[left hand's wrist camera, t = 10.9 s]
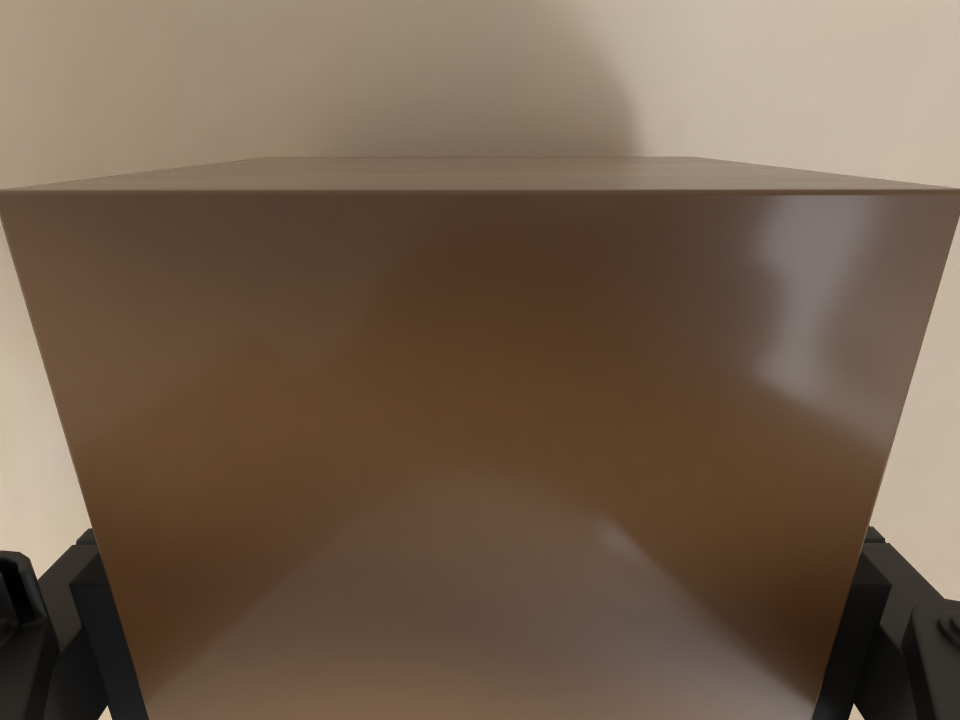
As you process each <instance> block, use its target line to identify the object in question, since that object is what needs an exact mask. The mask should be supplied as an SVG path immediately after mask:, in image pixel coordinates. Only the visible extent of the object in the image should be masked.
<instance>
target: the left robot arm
mask: <svg viewBox="0 0 960 720" xmlns="http://www.w3.org/2000/svg"><path fill="white" fill-rule="evenodd" d="M76 542H77V543H76V545H72V546H71V547H70V548H69V549H68V550H67V551H66V552H65V553H64V554H63V555H62V556H61V557H60V558H59V559H58V560H57V561H56V562H55V563H54V564H53V565H52V566H51V567H50V568H49V569H48V570H47V571H46V572H45V573H44V574H43V575H42V576H41V577H40V578H39V579H38V580H37V578H36V575H35V572H34V570H33V567H32V564H31V561H30V559H29V558H28V557H26V556H25V555H23V554H22V553H20V552H13V551H0V720H98V719H99V717H100V716H101V714H102V713H103V711H104V710H105V708H106V707H107V705H108V708H109V711H110V714H111V717H112V720H149V717H148V714H147V710H146V707H145V704H144V700H143V697H142V694H141V690H140V687H139V683H138V680H137V677H136V673H135V670H134V667H133V663H132V660H131V656H130V653H129V650H128V646H127V643H126V640H125V636H124V633H123V629H122V626H121V623H120V619H119V616H118V613H117V609H116V606H115V602H114V599H113V596H112V592H111V589H110V586H109V582H108V579H107V576H106V572H105V569H104V565H103V562H102V559H101V555H100V552H99V549H98V545H97V542H96V538H95V535H94V532H93V528H92V529H88V530H87V531H86V532H85V533H84V534H83V535H82V536H81V537H80V538H79V539H78V540H77V541H76ZM853 704H855V706H856V707H857V709H858V710H859V712H860V713H861V715H862V716H863V718H864V719H865V720H960V601H954V600H948V599H944V598H943V597H942V596H941V595H940V594H939V593H938V592H937V591H936V590H935V589H934V588H933V587H932V586H931V585H930V584H929V583H928V582H927V581H926V580H925V579H924V578H923V577H922V576H921V575H920V574H919V573H918V572H917V571H916V570H915V569H914V568H913V567H912V566H911V565H910V564H909V563H908V562H907V561H906V560H905V559H904V558H903V557H902V556H901V555H900V553H899V552H898V551H897V550H896V549H895V548H894V547H893V546H892V545H891V544H890V543H886V542H885V538H884V537H883V536H882V535H881V534H880V533H879V532H878V531H877V530H876V529H875V528H874V527H870V526H868V529H867V533H866V536H865V540H864V543H863V546H862V550H861V553H860V557H859V560H858V563H857V567H856V570H855V574H854V577H853V580H852V584H851V587H850V591H849V594H848V597H847V601H846V604H845V608H844V611H843V614H842V618H841V621H840V625H839V628H838V631H837V635H836V638H835V642H834V645H833V648H832V652H831V655H830V659H829V662H828V665H827V669H826V672H825V676H824V679H823V682H822V686H821V689H820V693H819V696H818V699H817V703H816V706H815V710H814V713H813V716H812V720H848V719H849V716H850V713H851V710H852V707H853Z"/></svg>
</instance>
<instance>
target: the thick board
mask: <svg viewBox="0 0 960 720" xmlns="http://www.w3.org/2000/svg"><path fill="white" fill-rule="evenodd" d="M959 216H960V189H958V188H950V187H942V186H933V185H925V184H916V183H908V182H899V181H891V180H883V179H874V178H866V177H857V176H849V175H841V174H832V173H824V172H815V171H807V170H799V169H790V168H782V167H773V166H765V165H757V164H748V163H740V162H731V161H723V160H715V159H706V158H698V157H266V158H258V159H250V160H242V161H234V162H225V163H217V164H209V165H201V166H193V167H184V168H176V169H168V170H160V171H151V172H143V173H135V174H127V175H119V176H110V177H102V178H94V179H86V180H78V181H69V182H61V183H53V184H45V185H36V186H28V187H20V188H12V189H4V190H0V218H1V221H2V225H3V228H4V232H5V235H6V238H7V242H8V245H9V248H10V252H11V255H12V259H13V262H14V265H15V269H16V272H17V275H18V279H19V282H20V286H21V289H22V292H23V296H24V299H25V302H26V306H27V309H28V313H29V316H30V319H31V323H32V326H33V329H34V333H35V336H36V339H37V343H38V346H39V350H40V353H41V356H42V360H43V363H44V366H45V370H46V373H47V377H48V380H49V383H50V387H51V390H52V393H53V397H54V400H55V404H56V407H57V410H58V414H59V417H60V420H61V424H62V427H63V431H64V434H65V437H66V441H67V444H68V447H69V451H70V454H71V458H72V461H73V464H74V468H75V471H76V474H77V478H78V481H79V484H80V488H81V491H82V495H83V498H84V501H85V505H86V508H87V511H88V515H89V518H90V522H91V525H92V528H93V532H94V535H95V538H96V542H97V545H98V549H99V552H100V555H101V559H102V562H103V565H104V569H105V572H106V576H107V579H108V582H109V586H110V589H111V592H112V596H113V599H114V602H115V606H116V609H117V613H118V616H119V619H120V623H121V626H122V629H123V633H124V636H125V640H126V643H127V646H128V650H129V653H130V656H131V660H132V663H133V667H134V670H135V673H136V677H137V680H138V683H139V687H140V690H141V694H142V697H143V700H144V704H145V707H146V710H147V714H148V717H149V720H812V716H813V713H814V710H815V706H816V703H817V699H818V696H819V693H820V689H821V686H822V682H823V679H824V676H825V672H826V669H827V665H828V662H829V659H830V655H831V652H832V648H833V645H834V642H835V638H836V635H837V631H838V628H839V625H840V621H841V618H842V614H843V611H844V608H845V604H846V601H847V597H848V594H849V591H850V587H851V584H852V580H853V577H854V574H855V570H856V567H857V563H858V560H859V557H860V553H861V550H862V546H863V543H864V540H865V536H866V533H867V529H868V526H869V522H870V519H871V516H872V512H873V509H874V505H875V502H876V499H877V495H878V492H879V488H880V485H881V482H882V478H883V475H884V471H885V468H886V465H887V461H888V458H889V454H890V451H891V448H892V444H893V441H894V437H895V434H896V431H897V427H898V424H899V420H900V417H901V414H902V410H903V407H904V403H905V400H906V397H907V393H908V390H909V386H910V383H911V380H912V376H913V373H914V369H915V366H916V363H917V359H918V356H919V352H920V349H921V345H922V342H923V339H924V335H925V332H926V328H927V325H928V322H929V318H930V315H931V311H932V308H933V305H934V301H935V298H936V294H937V291H938V288H939V284H940V281H941V277H942V274H943V271H944V267H945V264H946V260H947V257H948V254H949V250H950V247H951V243H952V240H953V237H954V233H955V230H956V226H957V223H958V220H959Z"/></svg>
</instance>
